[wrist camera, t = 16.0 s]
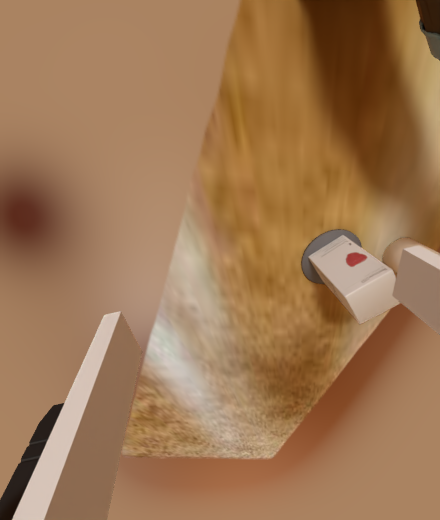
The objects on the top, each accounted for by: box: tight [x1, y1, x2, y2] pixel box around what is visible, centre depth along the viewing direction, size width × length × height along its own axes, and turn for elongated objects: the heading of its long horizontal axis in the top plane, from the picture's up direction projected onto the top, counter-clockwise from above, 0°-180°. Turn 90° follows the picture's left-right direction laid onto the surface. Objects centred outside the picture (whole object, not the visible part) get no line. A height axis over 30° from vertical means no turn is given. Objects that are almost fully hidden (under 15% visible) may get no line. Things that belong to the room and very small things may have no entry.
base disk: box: [301, 229, 362, 284], centre depth 55 cm, size 14×14×1 cm
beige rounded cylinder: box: [382, 238, 440, 273], centre depth 53 cm, size 8×8×9 cm
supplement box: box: [308, 235, 400, 324], centre depth 48 cm, size 9×9×15 cm
